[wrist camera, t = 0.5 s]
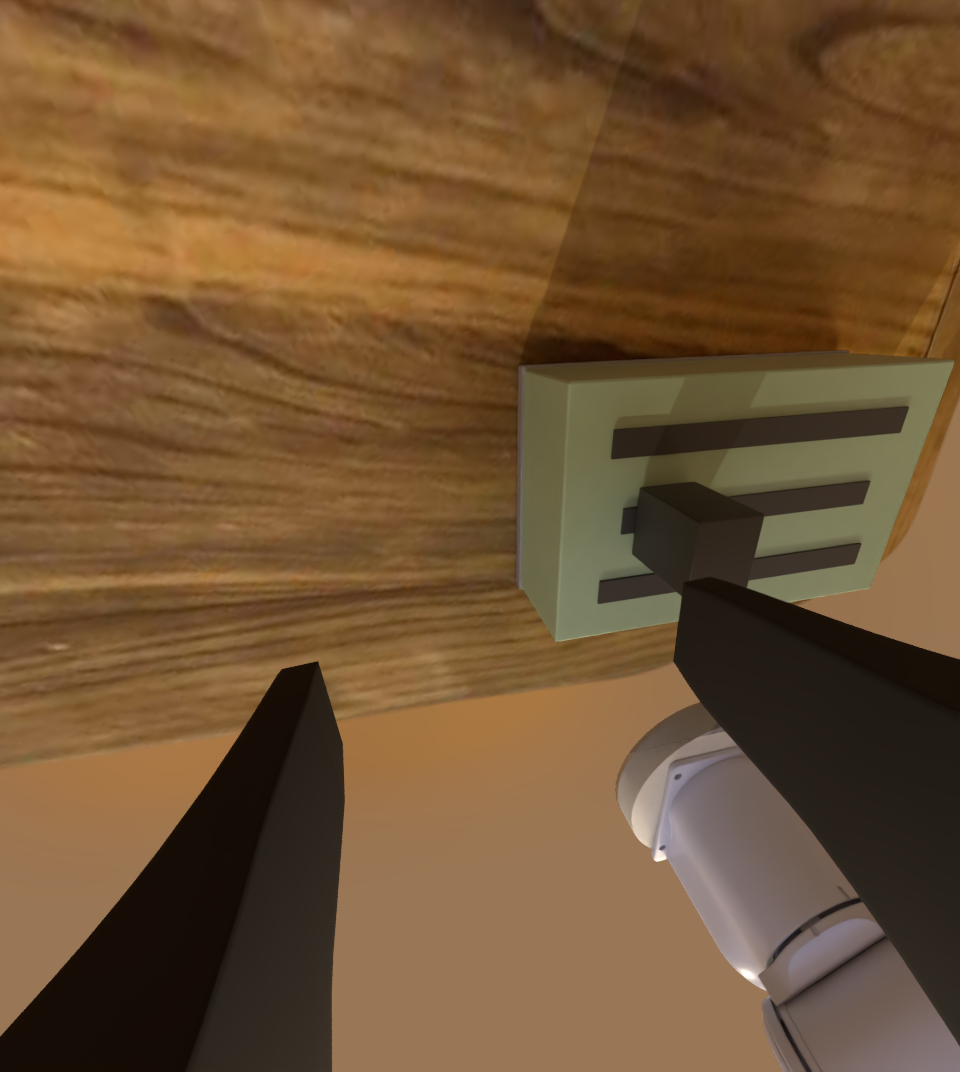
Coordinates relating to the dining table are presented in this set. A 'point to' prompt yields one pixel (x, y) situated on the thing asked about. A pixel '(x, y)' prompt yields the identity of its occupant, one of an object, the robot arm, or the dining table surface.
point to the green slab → (713, 471)
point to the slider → (695, 534)
